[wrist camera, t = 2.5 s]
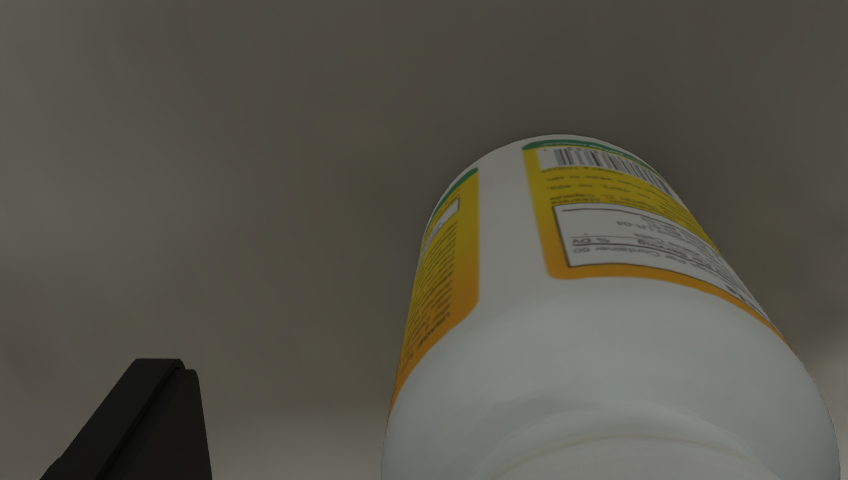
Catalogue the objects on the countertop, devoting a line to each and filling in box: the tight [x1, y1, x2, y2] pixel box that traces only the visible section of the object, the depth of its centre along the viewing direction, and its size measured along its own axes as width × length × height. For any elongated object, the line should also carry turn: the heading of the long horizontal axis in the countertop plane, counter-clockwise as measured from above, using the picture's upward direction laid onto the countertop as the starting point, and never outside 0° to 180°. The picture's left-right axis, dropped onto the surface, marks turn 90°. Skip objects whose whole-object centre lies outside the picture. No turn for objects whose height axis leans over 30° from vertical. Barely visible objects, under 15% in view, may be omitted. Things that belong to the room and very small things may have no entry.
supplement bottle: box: [381, 134, 840, 480], centre depth 11 cm, size 5×5×10 cm
